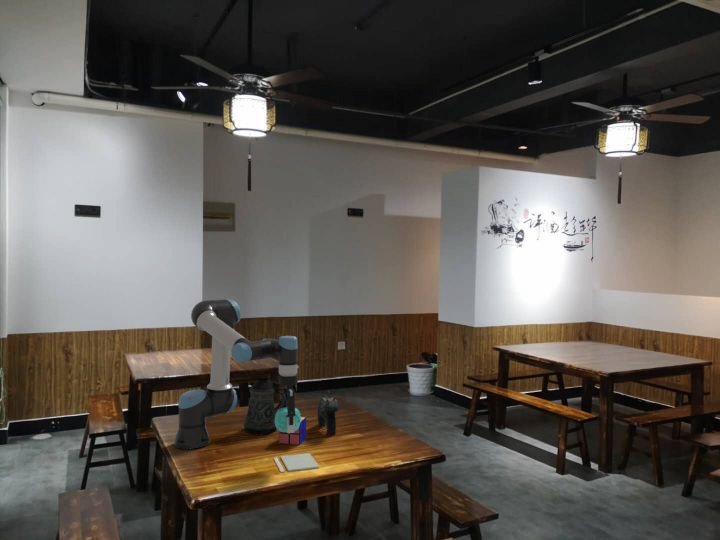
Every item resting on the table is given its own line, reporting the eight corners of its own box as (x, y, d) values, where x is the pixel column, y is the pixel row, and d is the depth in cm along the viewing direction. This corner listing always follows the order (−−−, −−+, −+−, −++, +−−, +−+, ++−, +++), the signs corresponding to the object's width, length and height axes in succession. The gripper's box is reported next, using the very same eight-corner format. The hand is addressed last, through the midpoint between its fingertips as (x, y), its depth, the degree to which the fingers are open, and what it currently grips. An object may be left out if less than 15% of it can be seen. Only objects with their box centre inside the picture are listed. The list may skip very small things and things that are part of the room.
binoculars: (338, 435, 260) (339, 393, 260) (326, 436, 257) (326, 394, 257) (326, 423, 278) (326, 384, 278) (313, 425, 276) (314, 385, 276)
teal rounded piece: (301, 427, 224) (301, 408, 224) (292, 433, 216) (292, 413, 216) (283, 425, 226) (283, 406, 226) (274, 431, 219) (274, 411, 219)
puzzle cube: (299, 445, 245) (300, 423, 245) (278, 443, 247) (278, 421, 247) (306, 438, 255) (306, 417, 255) (286, 436, 257) (286, 415, 257)
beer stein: (237, 429, 267) (237, 378, 267) (271, 422, 280) (271, 373, 280) (255, 437, 255) (255, 384, 255) (289, 429, 268) (290, 379, 268)
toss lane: (280, 472, 213) (280, 470, 213) (273, 458, 228) (273, 457, 228) (319, 467, 218) (319, 466, 218) (309, 454, 233) (309, 453, 233)
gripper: (303, 379, 211) (303, 436, 211) (292, 368, 233) (292, 420, 233) (283, 380, 209) (283, 438, 209) (274, 369, 231) (274, 421, 231)
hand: (288, 428), depth 221 cm, fingers closed on teal rounded piece, 11 cm apart
